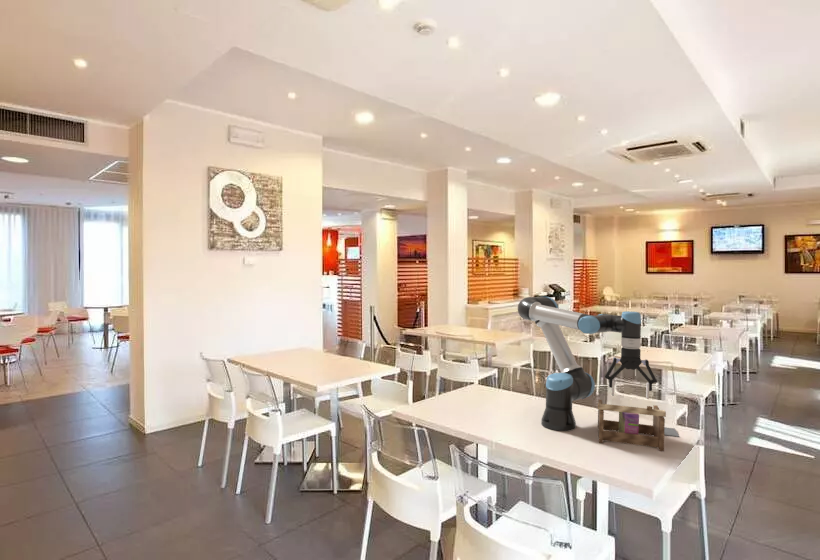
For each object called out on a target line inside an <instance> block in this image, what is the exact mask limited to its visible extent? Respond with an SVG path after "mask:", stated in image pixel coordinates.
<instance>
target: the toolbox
mask: <svg viewBox="0 0 820 560" xmlns="http://www.w3.org/2000/svg"><path fill="white" fill-rule="evenodd" d="M598 403H600V404H604V403H603V399H598V401H597V404H598ZM652 409H656V410H660V408H659V406H658V405H655V404H654V405H653V406H652ZM604 415H605V410H599V409H598V408H597V436H598V443H599V444H604V441H605V442H613V443H614V442H615V443H621V444H629V445H635V446H643V447H644V446H645V447H650V448H651V447H652V448H658V451H659V452H664V451H665V435H664V428H665V427H666V425H665V423H666V419H665V417H662V416H653V415H652V424H645V423H643V424H642V423H639V429H638V434H631V433H623V432H618V429H619V420H618V421H617V420H609V419H608V420H607V419H604V418H605V417H604Z"/></svg>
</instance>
